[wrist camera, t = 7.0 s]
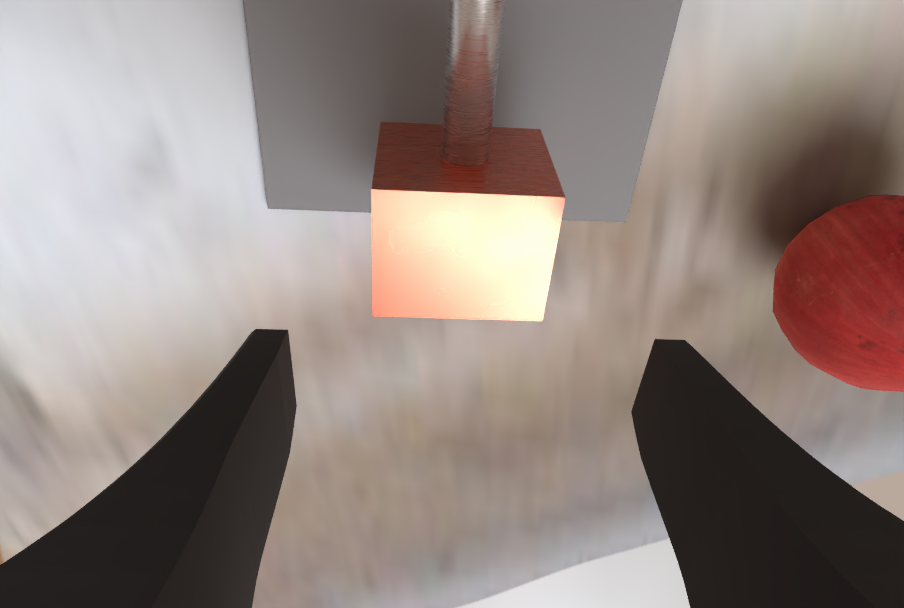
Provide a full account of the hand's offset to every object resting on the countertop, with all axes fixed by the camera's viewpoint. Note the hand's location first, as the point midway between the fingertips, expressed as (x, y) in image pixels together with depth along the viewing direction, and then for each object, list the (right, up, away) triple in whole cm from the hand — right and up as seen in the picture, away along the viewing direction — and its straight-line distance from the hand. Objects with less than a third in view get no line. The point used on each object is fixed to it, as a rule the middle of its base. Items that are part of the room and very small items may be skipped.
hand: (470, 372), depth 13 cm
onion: (+13, +4, +10) cm, 17 cm away
